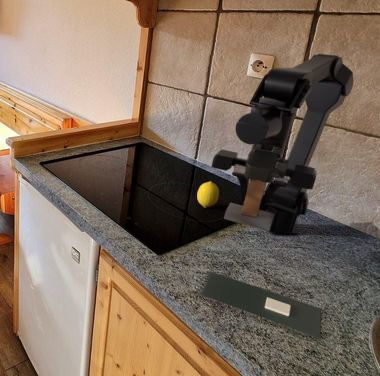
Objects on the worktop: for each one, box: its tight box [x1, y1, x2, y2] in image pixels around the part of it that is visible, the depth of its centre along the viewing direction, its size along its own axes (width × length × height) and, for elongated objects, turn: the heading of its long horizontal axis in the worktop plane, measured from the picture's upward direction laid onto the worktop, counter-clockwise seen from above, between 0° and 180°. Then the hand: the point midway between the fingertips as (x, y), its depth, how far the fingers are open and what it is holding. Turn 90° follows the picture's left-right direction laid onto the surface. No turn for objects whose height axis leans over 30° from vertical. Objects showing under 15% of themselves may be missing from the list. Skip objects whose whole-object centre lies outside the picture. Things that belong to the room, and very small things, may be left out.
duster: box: [223, 179, 274, 232], centre depth 86 cm, size 9×5×11 cm, turn 57°
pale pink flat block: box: [265, 297, 291, 316], centre depth 76 cm, size 4×3×1 cm
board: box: [200, 271, 322, 339], centre depth 78 cm, size 20×9×1 cm, turn 57°
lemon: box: [196, 181, 220, 209], centre depth 113 cm, size 6×6×8 cm
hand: (251, 205), depth 87 cm, fingers closed on duster, 3 cm apart
